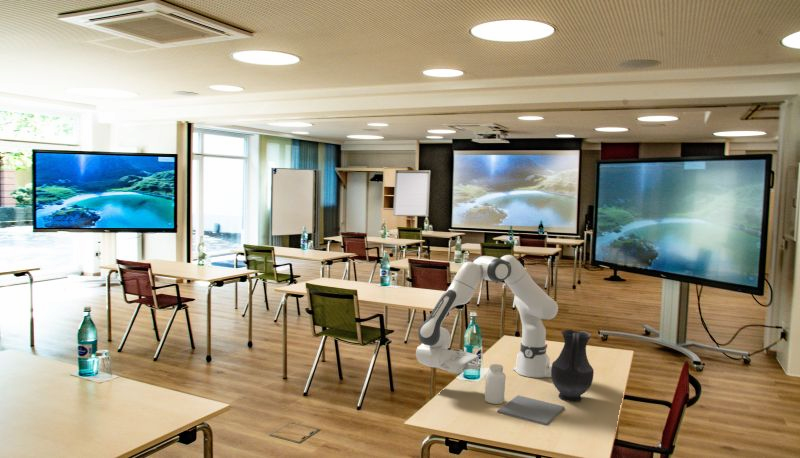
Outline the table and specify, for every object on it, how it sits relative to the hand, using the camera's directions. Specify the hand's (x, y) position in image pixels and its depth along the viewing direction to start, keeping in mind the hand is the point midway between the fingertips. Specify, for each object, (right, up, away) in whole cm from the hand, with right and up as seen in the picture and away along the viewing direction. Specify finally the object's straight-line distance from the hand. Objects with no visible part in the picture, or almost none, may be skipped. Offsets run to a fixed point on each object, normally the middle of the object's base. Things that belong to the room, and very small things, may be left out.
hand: (479, 366), depth 251 cm
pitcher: (+39, -15, +3) cm, 42 cm away
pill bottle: (+6, -14, -3) cm, 15 cm away
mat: (+19, -15, -12) cm, 27 cm away
